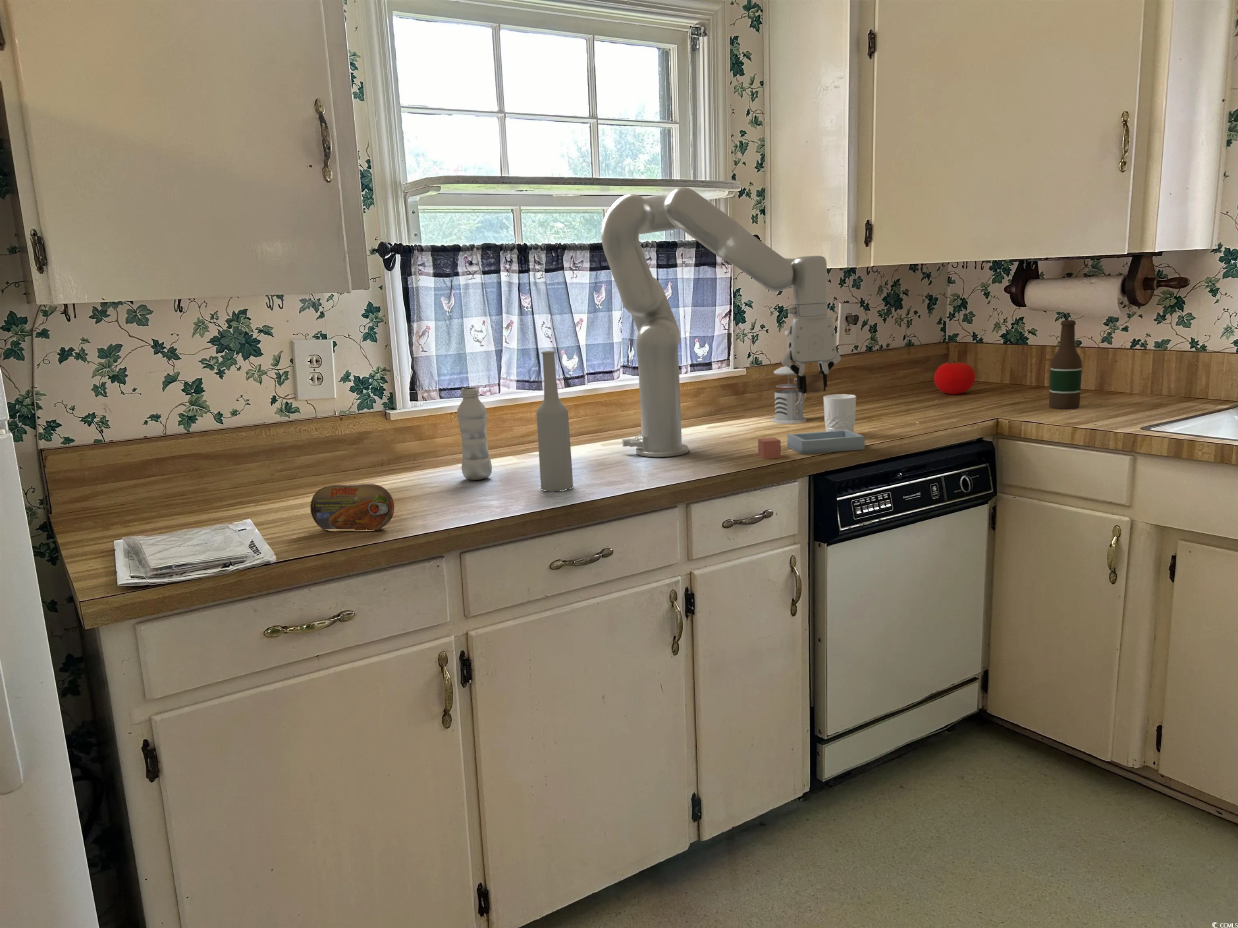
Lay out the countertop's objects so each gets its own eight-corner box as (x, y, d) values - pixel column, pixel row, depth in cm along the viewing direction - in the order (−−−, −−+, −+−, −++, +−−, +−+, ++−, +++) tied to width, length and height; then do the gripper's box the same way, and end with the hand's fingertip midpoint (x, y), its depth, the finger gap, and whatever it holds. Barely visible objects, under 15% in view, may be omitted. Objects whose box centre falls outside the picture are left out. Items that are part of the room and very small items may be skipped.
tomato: (930, 392, 295) (931, 359, 292) (969, 390, 293) (970, 358, 291) (938, 396, 284) (939, 363, 282) (979, 395, 282) (980, 361, 280)
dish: (802, 454, 207) (802, 441, 207) (787, 446, 217) (787, 434, 216) (864, 449, 209) (864, 436, 209) (846, 441, 219) (846, 429, 219)
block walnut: (807, 392, 207) (805, 375, 207) (801, 393, 211) (800, 376, 211) (824, 391, 208) (822, 373, 208) (818, 392, 212) (816, 375, 212)
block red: (763, 459, 205) (763, 441, 204) (758, 455, 209) (757, 438, 208) (780, 457, 205) (780, 440, 205) (775, 454, 209) (774, 437, 209)
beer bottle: (1081, 405, 253) (1086, 319, 249) (1077, 410, 247) (1082, 321, 242) (1050, 404, 258) (1054, 319, 253) (1046, 409, 251) (1050, 321, 246)
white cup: (856, 438, 223) (856, 398, 220) (823, 439, 224) (823, 399, 222) (855, 433, 230) (855, 393, 228) (823, 433, 232) (823, 394, 230)
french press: (792, 416, 260) (792, 328, 255) (818, 421, 250) (817, 330, 245) (764, 420, 256) (762, 331, 251) (788, 425, 246) (787, 332, 241)
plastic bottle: (479, 483, 194) (472, 390, 190) (456, 481, 197) (447, 389, 193) (499, 477, 199) (492, 386, 195) (475, 475, 203) (468, 386, 199)
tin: (312, 532, 162) (306, 486, 160) (320, 527, 165) (315, 482, 163) (391, 532, 159) (386, 485, 158) (398, 527, 162) (394, 481, 161)
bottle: (552, 493, 182) (542, 353, 176) (535, 488, 187) (525, 352, 181) (579, 487, 185) (571, 350, 180) (562, 482, 191) (553, 349, 185)
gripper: (780, 314, 201) (782, 396, 205) (852, 309, 204) (853, 390, 207) (769, 313, 209) (772, 392, 212) (838, 308, 211) (839, 387, 215)
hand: (812, 390), depth 210 cm, fingers closed on block walnut, 4 cm apart
